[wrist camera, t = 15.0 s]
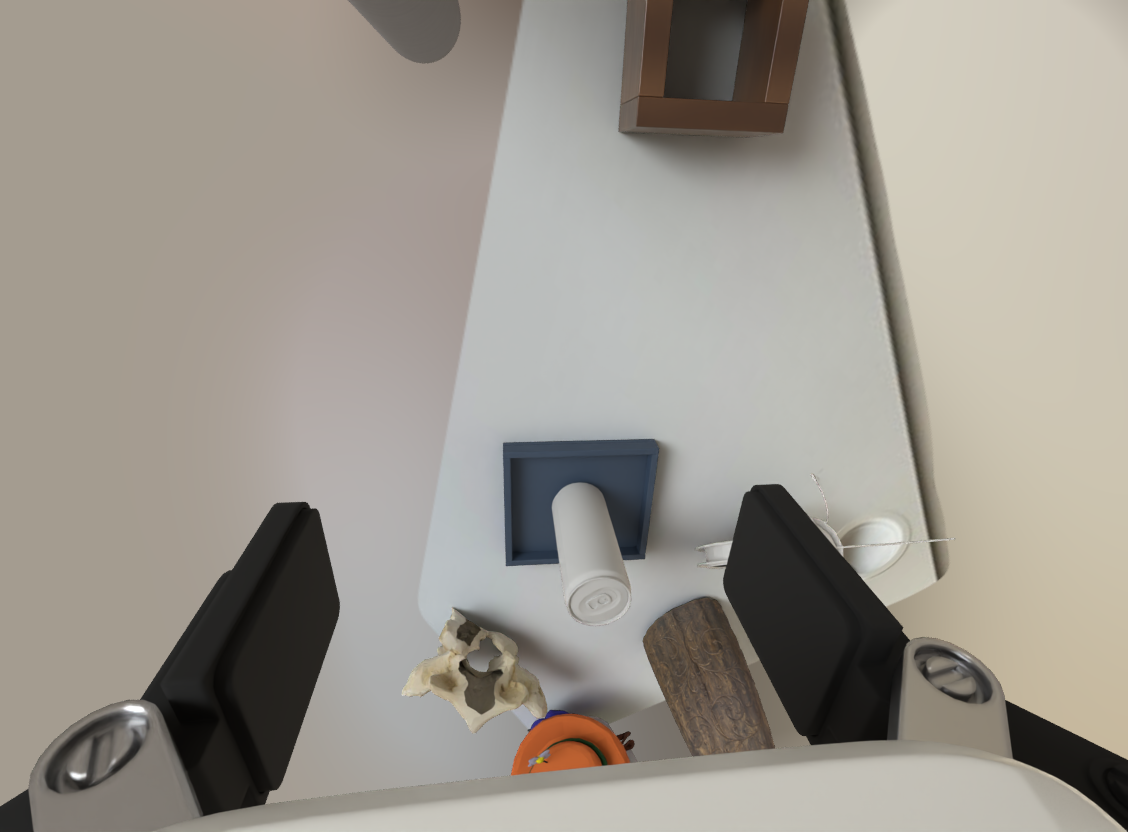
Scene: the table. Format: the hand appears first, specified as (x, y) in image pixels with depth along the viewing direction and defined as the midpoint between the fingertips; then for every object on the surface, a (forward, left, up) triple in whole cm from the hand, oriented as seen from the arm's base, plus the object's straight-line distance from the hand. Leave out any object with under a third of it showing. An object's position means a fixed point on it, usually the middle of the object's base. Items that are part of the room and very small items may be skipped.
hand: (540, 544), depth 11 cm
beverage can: (+20, +5, -29) cm, 35 cm away
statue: (+37, +18, -29) cm, 50 cm away
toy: (+55, +8, -24) cm, 60 cm away
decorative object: (+33, -5, -22) cm, 40 cm away
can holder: (-14, +11, -29) cm, 34 cm away
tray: (+20, +5, -29) cm, 36 cm away
